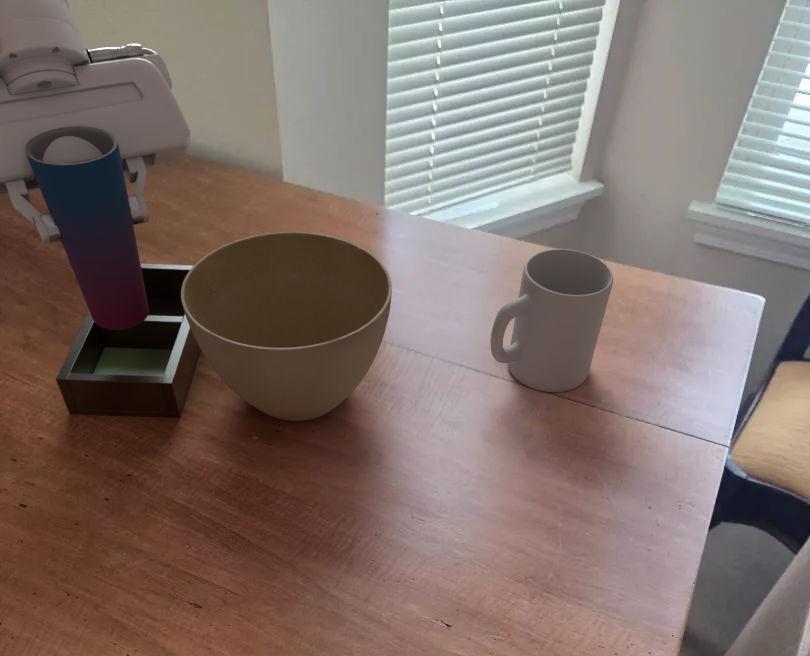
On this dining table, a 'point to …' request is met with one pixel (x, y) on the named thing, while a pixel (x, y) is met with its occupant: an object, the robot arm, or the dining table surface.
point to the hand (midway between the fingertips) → (97, 230)
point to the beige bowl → (289, 319)
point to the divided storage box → (135, 357)
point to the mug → (554, 320)
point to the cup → (94, 225)
